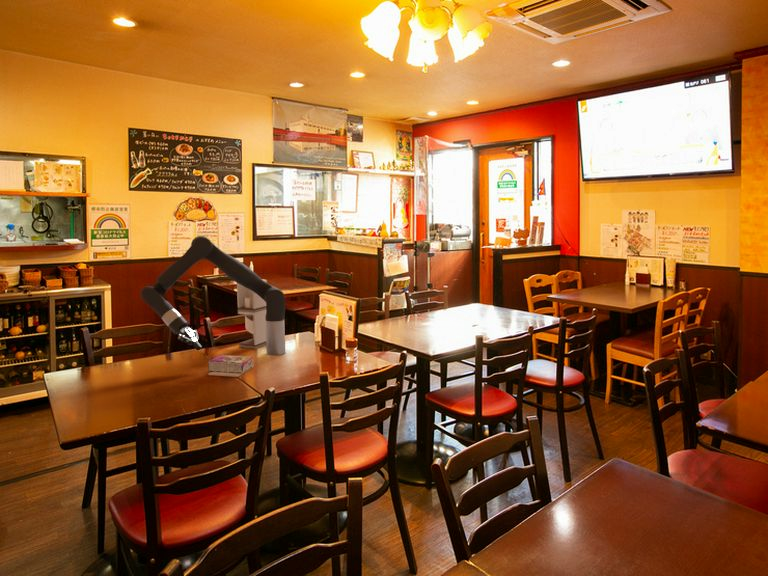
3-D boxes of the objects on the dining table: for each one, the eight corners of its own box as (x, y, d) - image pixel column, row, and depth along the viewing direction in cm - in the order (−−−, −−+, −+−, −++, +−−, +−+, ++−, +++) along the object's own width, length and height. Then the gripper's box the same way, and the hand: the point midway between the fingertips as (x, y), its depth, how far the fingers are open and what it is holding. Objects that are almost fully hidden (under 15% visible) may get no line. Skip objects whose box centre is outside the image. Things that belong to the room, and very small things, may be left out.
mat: (226, 364, 248) (226, 363, 248) (254, 366, 245) (254, 365, 245) (208, 374, 233) (208, 373, 232) (237, 376, 230) (237, 375, 229)
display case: (252, 342, 292) (250, 278, 287) (268, 343, 288) (266, 279, 283) (239, 346, 281) (236, 281, 277) (255, 348, 277) (253, 282, 272)
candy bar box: (220, 354, 245) (253, 356, 242) (220, 364, 246) (253, 367, 243) (207, 360, 234) (242, 362, 231) (208, 371, 235) (242, 373, 232)
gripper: (171, 318, 234) (197, 347, 233) (188, 312, 247) (213, 340, 246) (160, 329, 236) (186, 358, 235) (178, 323, 249) (203, 350, 248)
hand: (200, 348), depth 240 cm, fingers closed
